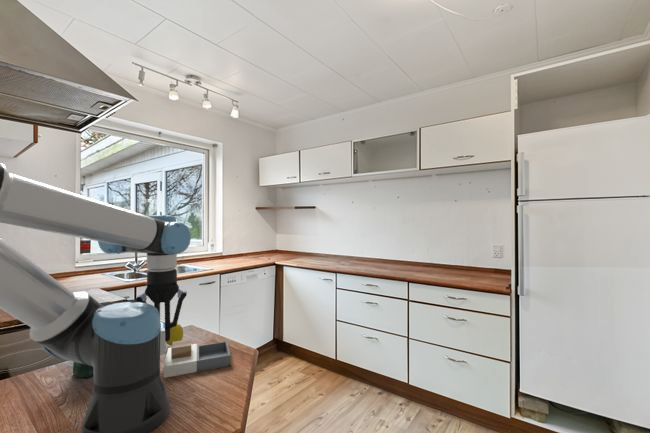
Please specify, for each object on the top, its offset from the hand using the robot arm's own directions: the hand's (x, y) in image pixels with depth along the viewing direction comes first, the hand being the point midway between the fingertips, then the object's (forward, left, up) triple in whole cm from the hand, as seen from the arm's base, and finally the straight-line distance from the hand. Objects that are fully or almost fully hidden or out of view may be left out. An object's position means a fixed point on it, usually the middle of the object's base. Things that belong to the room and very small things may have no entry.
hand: (162, 352), depth 86 cm
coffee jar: (+6, +17, -5) cm, 19 cm away
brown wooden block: (0, -5, -1) cm, 5 cm away
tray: (-1, -13, -4) cm, 14 cm away
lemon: (+15, -2, -5) cm, 16 cm away
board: (0, -5, -4) cm, 7 cm away
